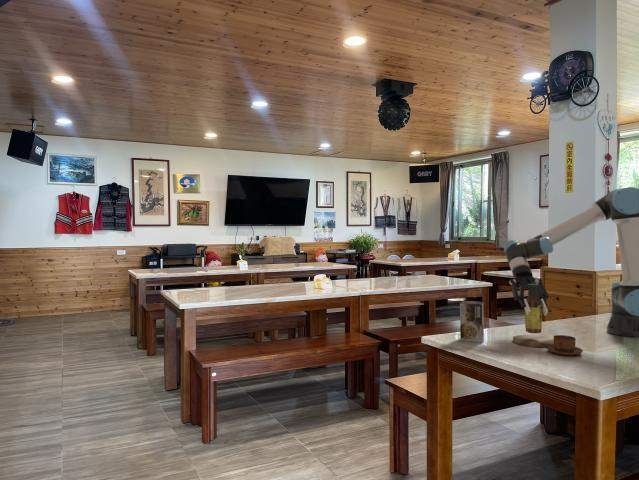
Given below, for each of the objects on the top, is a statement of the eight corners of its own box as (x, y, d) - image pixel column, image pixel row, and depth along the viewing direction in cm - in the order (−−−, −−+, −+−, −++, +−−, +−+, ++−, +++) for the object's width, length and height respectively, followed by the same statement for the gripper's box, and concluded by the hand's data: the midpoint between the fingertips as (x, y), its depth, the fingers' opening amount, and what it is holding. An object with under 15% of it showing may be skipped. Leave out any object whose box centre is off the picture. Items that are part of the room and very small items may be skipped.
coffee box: (484, 339, 198) (484, 301, 198) (482, 343, 192) (482, 303, 192) (461, 338, 202) (461, 300, 201) (459, 341, 196) (459, 302, 196)
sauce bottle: (543, 334, 189) (543, 285, 188) (527, 333, 190) (527, 284, 189) (539, 331, 195) (539, 283, 195) (523, 330, 196) (523, 283, 196)
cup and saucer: (581, 359, 168) (581, 342, 167) (544, 354, 174) (544, 338, 174) (583, 352, 178) (583, 336, 178) (548, 348, 184) (548, 332, 184)
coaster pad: (561, 342, 192) (561, 339, 192) (546, 349, 181) (546, 345, 181) (522, 336, 204) (522, 333, 204) (506, 342, 192) (506, 339, 192)
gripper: (540, 275, 207) (558, 318, 191) (496, 275, 207) (510, 318, 191) (545, 264, 202) (564, 308, 186) (501, 264, 202) (516, 307, 186)
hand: (537, 313), depth 189 cm, fingers closed on sauce bottle, 6 cm apart
